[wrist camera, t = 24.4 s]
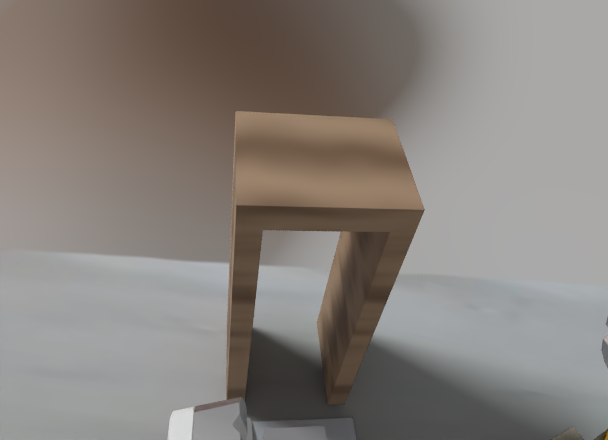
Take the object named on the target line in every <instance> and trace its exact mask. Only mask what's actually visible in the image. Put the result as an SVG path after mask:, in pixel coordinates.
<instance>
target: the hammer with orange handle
mask: <svg viewBox="0 0 608 440" xmlns="http://www.w3.org/2000/svg"><path fill="white" fill-rule="evenodd" d="M262 440H327V439H326V431H325V426H313V427H291V428H270V429H264V433H263V439H262Z"/></svg>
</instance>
